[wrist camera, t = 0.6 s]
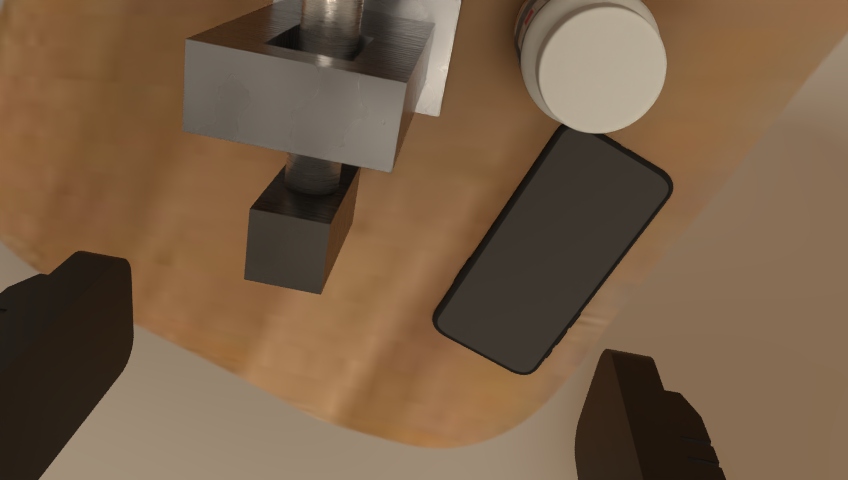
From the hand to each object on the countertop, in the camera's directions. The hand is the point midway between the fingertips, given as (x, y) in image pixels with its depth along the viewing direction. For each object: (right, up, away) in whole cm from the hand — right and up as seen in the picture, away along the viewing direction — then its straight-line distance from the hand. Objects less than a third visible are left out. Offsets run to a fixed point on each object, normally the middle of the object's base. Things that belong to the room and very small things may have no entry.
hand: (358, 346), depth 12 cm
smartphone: (+8, +1, +28) cm, 30 cm away
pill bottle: (+8, +12, +23) cm, 27 cm away
